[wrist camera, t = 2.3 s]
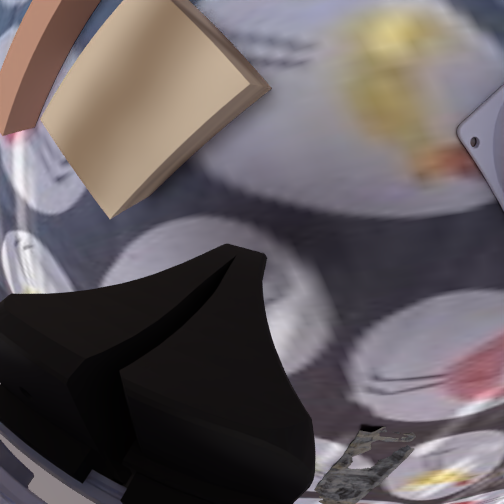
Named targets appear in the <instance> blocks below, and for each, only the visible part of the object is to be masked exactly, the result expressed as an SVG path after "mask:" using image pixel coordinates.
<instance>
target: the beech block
mask: <svg viewBox="0 0 504 504" xmlns="http://www.w3.org/2000/svg"><path fill="white" fill-rule="evenodd" d="M271 89H272V88H271V87H270V86H269V85H268V83H267V82H266V81H265V80H264V79H263V78H262V76H261V75H260V74H259V73H258V72H257V71H256V70H255V68H254V67H253V66H252V65H251V64H250V63H249V62H248V61H247V60H246V58H245V57H244V56H243V55H242V54H241V53H240V52H239V51H238V50H237V49H236V47H235V46H234V45H233V44H232V43H231V42H230V41H229V40H228V39H227V38H226V37H225V36H224V35H223V34H222V33H221V32H220V31H219V30H218V29H217V28H216V27H215V26H214V25H213V24H212V23H211V22H210V21H209V20H208V19H207V18H206V17H205V16H204V15H203V14H202V13H201V12H200V11H199V10H198V9H197V8H196V7H195V6H194V5H193V4H192V3H191V2H190V1H189V0H124V1H123V2H122V3H121V4H120V5H119V6H118V7H117V8H116V10H115V11H114V12H113V13H112V14H111V15H110V17H109V18H108V19H107V20H106V22H105V23H104V24H103V25H102V26H101V28H100V29H99V30H98V32H97V33H96V34H95V35H94V37H93V38H92V39H91V41H90V42H89V43H88V45H87V46H86V47H85V49H84V50H83V52H82V53H81V54H80V56H79V57H78V59H77V60H76V62H75V63H74V64H73V66H72V67H71V69H70V70H69V72H68V73H67V75H66V77H65V78H64V80H63V81H62V83H61V84H60V86H59V88H58V89H57V91H56V93H55V94H54V96H53V98H52V99H51V101H50V103H49V105H48V106H47V108H46V110H45V112H44V114H43V115H42V117H41V119H40V120H41V121H42V123H43V125H44V126H45V128H46V129H47V131H48V132H49V134H50V135H51V137H52V138H53V140H54V141H55V143H56V144H57V146H58V147H59V149H60V150H61V152H62V153H63V155H64V156H65V158H66V159H67V161H68V162H69V164H70V165H71V167H72V168H73V169H74V171H75V172H76V174H77V175H78V176H79V178H80V179H81V181H82V182H83V183H84V185H85V186H86V188H87V189H88V190H89V192H90V193H91V195H92V196H93V197H94V199H95V200H96V201H97V203H98V204H99V205H100V207H101V208H102V209H103V211H104V212H105V213H106V215H107V216H108V217H109V219H111V218H113V217H115V216H116V215H118V214H120V213H121V212H123V211H125V210H126V209H128V208H130V207H131V206H133V205H135V204H137V203H138V202H140V201H142V200H144V199H145V198H147V197H149V196H150V195H151V194H152V193H153V192H154V191H155V190H156V189H157V188H158V187H159V186H160V185H161V184H162V183H163V182H164V181H165V180H167V179H168V178H169V177H170V176H171V175H172V174H173V173H174V172H175V171H176V170H177V169H178V168H179V167H180V166H181V165H182V164H183V163H185V162H186V161H187V160H188V159H189V158H190V157H191V156H192V155H193V154H194V153H195V152H197V151H198V150H199V149H200V148H201V147H202V146H203V145H204V144H205V143H207V142H208V141H209V140H210V139H211V138H212V137H213V136H215V135H216V134H217V133H218V132H219V131H220V130H222V129H223V128H224V127H225V126H226V125H227V124H229V123H230V122H231V121H232V120H233V119H235V118H236V117H237V116H238V115H239V114H241V113H242V112H243V111H244V110H246V109H247V108H248V107H249V106H250V105H252V104H253V103H254V102H255V101H257V100H258V99H259V98H260V97H262V96H263V95H264V94H266V93H267V92H268V91H269V90H271Z"/></svg>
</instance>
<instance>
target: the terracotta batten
mask: <svg viewBox="0 0 504 504" xmlns="http://www.w3.org/2000/svg"><path fill="white" fill-rule="evenodd" d="M100 1H101V0H33V1H32V2H31V4H30V6H29V8H28V10H27V12H26V14H25V16H24V18H23V20H22V22H21V24H20V26H19V28H18V30H17V32H16V35H15V37H14V39H13V41H12V44H11V46H10V48H9V51H8V53H7V56H6V58H5V61H4V63H3V66H2V69H1V71H0V133H1V134H2V136H4V135H8V134H11V133H15V132H19V131H22V130H26V129H30V128H34V127H35V125H36V122H37V120H38V117H39V115H40V112H41V110H42V107H43V105H44V103H45V100H46V98H47V96H48V94H49V91H50V89H51V87H52V85H53V83H54V81H55V79H56V76H57V74H58V72H59V70H60V68H61V66H62V64H63V63H64V61H65V59H66V57H67V55H68V53H69V51H70V49H71V48H72V46H73V44H74V42H75V41H76V39H77V37H78V35H79V34H80V32H81V30H82V29H83V27H84V25H85V24H86V22H87V21H88V19H89V17H90V16H91V14H92V13H93V11H94V10H95V8H96V7H97V5H98V4H99V2H100Z"/></svg>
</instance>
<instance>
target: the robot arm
mask: <svg viewBox="0 0 504 504" xmlns="http://www.w3.org/2000/svg"><path fill="white" fill-rule="evenodd" d="M457 134H458V137H459V139H460V141H461V142H462V143H463V145H464V146H465V148H466V149H467V151H468V152H469V154H470V155H471V157H472V158H473V160H474V161H475V163H476V165H477V166H478V168H479V169H480V171H481V173H482V174H483V176H484V177H485V179H486V181H487V182H488V184H489V186H490V188H491V189H492V191H493V193H494V195H495V196H496V198H497V200H498V202H499V204H500V206H501V207H502V209H503V211H504V84H503V85H502V86H501V87H500V88H499V89H498V90H497V91H496V92H495V93H494V94H493V95H492V96H491V97H490V98H488V99H487V100H486V101H485V102H484V103H483V104H482V105H481V106H480V107H479V108H478V109H477V110H475V111H474V112H473V113H472V114H471V115H470V116H469V117H468V118H467V119H466V120H464V121H463V122H462V123H461V124H460V125H459V127H458V130H457ZM472 137H475V138H476V140H477V143H476V145H475V146H474V147H472V146H471V144H470V140H471V138H472ZM266 261H267V257H266V255H265V254H264V253H260V252H257V251H253V250H249V249H245V248H242V247H238V246H234V245H231V244H224V245H222V246H219V247H217V248H215V249H213V250H211V251H209V252H206V253H204V254H202V255H200V256H198V257H195V258H193V259H191V260H189V261H187V262H184V263H182V264H179V265H177V266H174V267H172V268H169V269H166V270H164V271H161V272H159V273H156V274H153V275H150V276H147V277H144V278H140V279H137V280H133V281H130V282H126V283H122V284H117V285H112V286H107V287H102V288H96V289H91V290H84V291H76V292H65V293H51V294H10V295H9V296H7V297H6V298H5V299H4V300H3V301H1V302H0V383H1V384H0V434H2V435H3V436H4V437H5V438H6V439H7V440H8V441H9V442H10V443H12V444H13V445H14V446H15V447H16V448H17V449H19V450H20V451H21V452H22V453H24V454H25V455H26V456H27V457H28V458H30V459H31V460H32V461H33V462H35V463H36V464H38V465H39V466H40V467H41V468H43V469H44V470H46V471H47V472H48V473H49V474H51V475H52V476H54V477H55V478H57V479H58V480H59V481H61V482H62V483H64V484H65V485H67V486H68V487H70V488H72V489H73V490H74V491H76V492H78V493H79V494H81V495H82V496H84V497H86V498H87V499H89V500H91V501H93V502H94V503H96V504H293V503H294V502H295V501H296V500H297V499H298V498H299V497H300V496H301V495H302V494H303V493H304V492H305V491H306V490H307V489H308V488H309V487H310V485H311V484H312V482H313V479H314V474H315V440H314V432H313V424H312V419H311V417H310V415H309V414H308V412H307V411H306V409H305V408H304V406H303V404H302V403H301V401H300V399H299V398H298V396H297V394H296V392H295V391H294V389H293V387H292V385H291V383H290V381H289V379H288V377H287V375H286V373H285V371H284V368H283V366H282V363H281V361H280V359H279V356H278V354H277V351H276V349H275V346H274V343H273V340H272V337H271V334H270V330H269V326H268V322H267V318H266V312H265V306H264V300H263V286H262V280H263V275H264V270H265V266H266ZM33 478H34V474H33V473H32V472H31V471H30V470H29V469H28V468H27V467H26V466H25V465H24V464H22V463H21V462H20V461H19V460H18V459H17V458H16V457H15V456H14V455H13V454H12V452H10V450H9V449H8V448H7V447H6V446H5V445H4V443H3V442H2V441H1V440H0V504H47V503H46V502H45V501H43V500H42V499H41V498H39V497H38V496H37V495H35V494H34V493H33V492H31V491H30V490H29V489H28V485H29V483H30V482H31V480H32V479H33Z"/></svg>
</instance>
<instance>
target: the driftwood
mask: <svg viewBox="0 0 504 504" xmlns="http://www.w3.org/2000/svg"><path fill="white" fill-rule="evenodd" d="M383 428H384V429H385V427H382V428H380V429H379V430H377V431H374V432H366V431H359V433H358V435H357V437H356V440H354V441H353V442H352V443H351V444H350V446H349V448H348V450H347V451H346V452H345V454H344V455H343V456H342V458H341V459H340V460H339V461H338V462H337V464H336V465H335V466H333V467H332V468H331V470H330V471H329V473H327V475H325V477H324V478H323V480H321V481H320V483H319V484H318V485H317V487H316V488H315V491H317V493H320V494H321V496H319V498H323V500H321V501H319V502H320V503H322V504H355V503H357V502H358V501H359V500H360V499H362V498H363V497H364V496H365V495H366V494H367V493H369V492H370V491H371V490H372V489H373V488H374V487H375V486H378V485H379V484H380V483H382V482H383V480H384V479H385V478H386V477H388V475H389V474H390V473H391V472H392V471H394V470H395V469H396V468H397V467H398V466H399V465H400V464H401V463H402V462H403V461H404V460H405V459H406V458H407V457H408V456H409V455H410V453H412V452H413V450H414V449H412V448H410V447H409V446H408V445H407V446H406V447H403V448H401V449H399V450H398V451H396V452H394V453H393V455H391V456H390V457H387V458H386V459H381V460H378V462H377V463H376V464H375V466H373V467H371V468H365V469H349V468H348V466H350V465H351V463H352V462H353V461H352V457H353V456H356V455H359V454H361V453H364V452H366V451H368V450H370V449H371V446H370V445H371V442H374V441H376V440H383V441H386V442H396V441H397V439H398V438H396V439H394V438H391V437H379V432H387V430H383V431H381V430H382V429H383ZM392 432H393V431H392ZM394 433H396V434H401V433H399V432H394ZM404 435H407V436H408V437H402V438H401V440H402V441H401V442H409V441H412V440H413V439H414V438H415V437H416V436H415V434H414V433H405V434H404Z"/></svg>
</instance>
